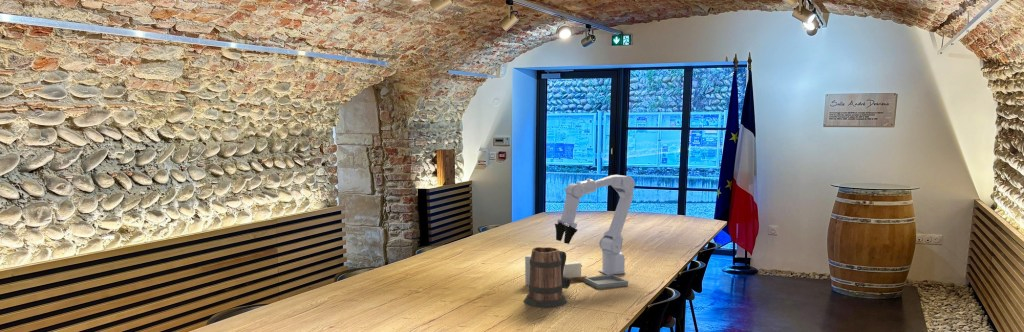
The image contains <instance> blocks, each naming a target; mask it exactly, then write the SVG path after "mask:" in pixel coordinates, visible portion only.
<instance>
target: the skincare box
mask: <svg viewBox="0 0 1024 332" xmlns="http://www.w3.org/2000/svg"><path fill="white" fill-rule="evenodd" d="M530 259H531V254H527V255H525V256H524V263H525V265H524V269H525V270H524V272H525V273H524V274H525V277H524V278H525V279H524V280H525V286H529V282H530Z"/></svg>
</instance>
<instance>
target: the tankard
mask: <svg viewBox="0 0 1024 332" xmlns="http://www.w3.org/2000/svg"><path fill="white" fill-rule="evenodd" d="M530 255H531V259H530V282H529V285H528V294H527V295H525V298H524V299H523V301H522V302H523V303H524V304H525V305H526V306H528V307H533V308H539V309H553V308H560V307H564V306H566V305H567V304H568V303H569V301H568V300H567V298H566V297H565V295H564V294H563V289H565V290H568V289H569V288H570V286H571V284H572V283H571V280H570V278H567V277H563V270H564V266H565V262H567V254H566V252H565V251H563V250H559V249H558V248H555V247H547V246H546V247H540V246H536V247H533V248H532V249H531V254H530Z"/></svg>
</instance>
